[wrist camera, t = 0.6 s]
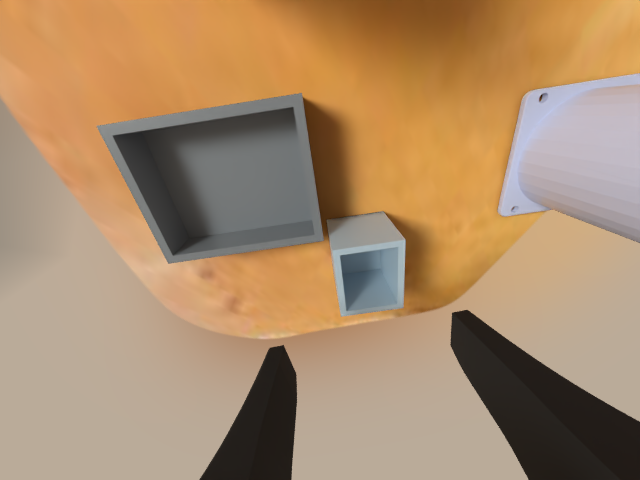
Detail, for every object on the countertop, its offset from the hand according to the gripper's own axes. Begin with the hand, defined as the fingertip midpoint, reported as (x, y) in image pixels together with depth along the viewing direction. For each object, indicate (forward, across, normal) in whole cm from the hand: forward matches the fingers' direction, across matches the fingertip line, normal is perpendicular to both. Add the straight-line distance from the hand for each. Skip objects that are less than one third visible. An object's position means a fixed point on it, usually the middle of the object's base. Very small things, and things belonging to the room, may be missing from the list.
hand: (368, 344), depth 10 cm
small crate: (+9, -1, +1) cm, 9 cm away
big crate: (+9, +6, -6) cm, 13 cm away
